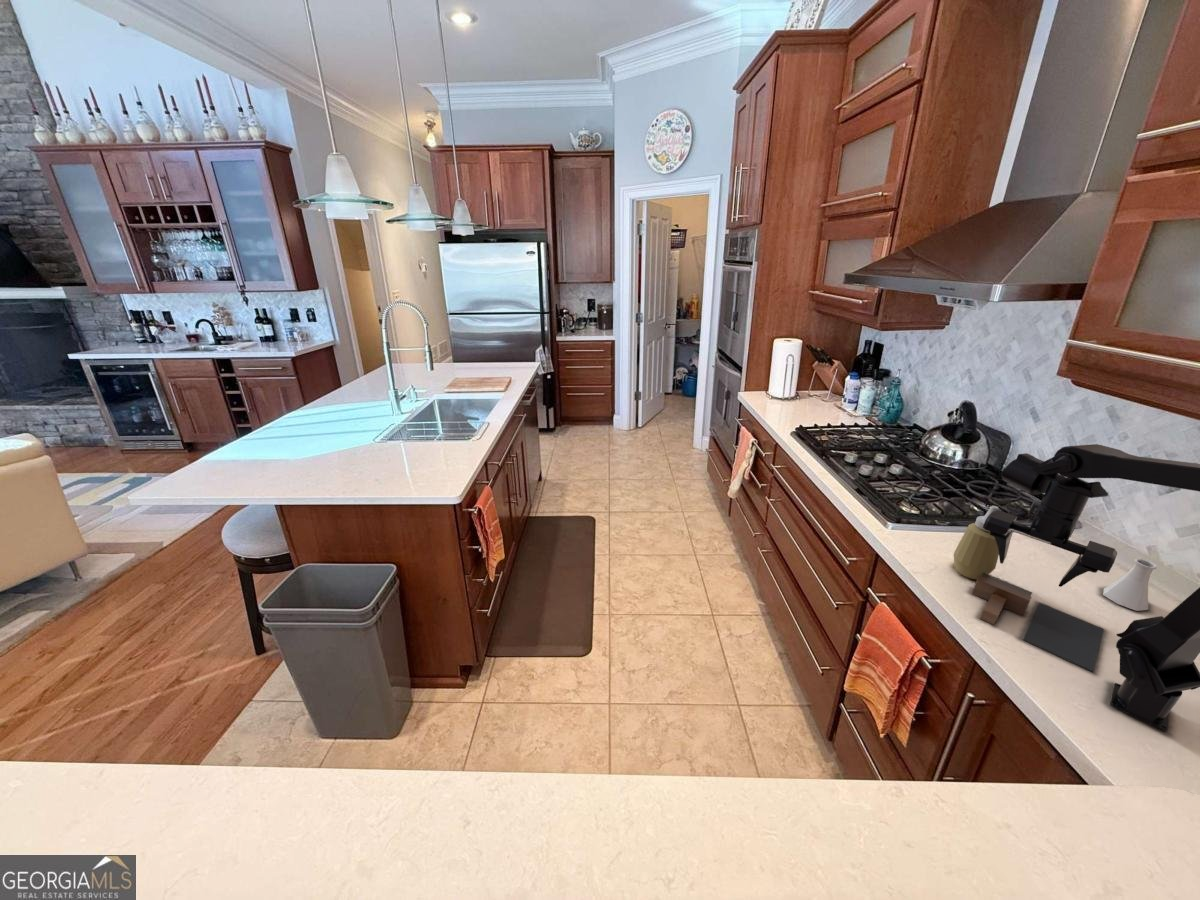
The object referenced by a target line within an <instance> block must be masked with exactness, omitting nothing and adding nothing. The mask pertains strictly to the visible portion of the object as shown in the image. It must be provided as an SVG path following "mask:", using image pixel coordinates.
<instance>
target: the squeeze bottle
mask: <svg viewBox="0 0 1200 900" xmlns="http://www.w3.org/2000/svg"><path fill="white" fill-rule="evenodd" d="M995 510H999V507H998V506H997V505H991V506H990V508H989V509H988V510H987V512H986V513H985V514H984V515H979V516H977V517H976V519H975V521H974V522H972V523H970V524H968V526H967V527H966V530H965V531H964V533H963V535H962V537H961V539H960V541H959V542H958V544H957V546H956V548H955V550H954V552H953V565H954V569H955V571H956V572H957V573H958V574H960V575H962V576H964V577H965V578H968V579H972V580H975V581H977V579H978V578H979V576H982V574H983V573H986V574H988V575H990V574H991V573H992V572H993V571H994V570H996V567H997V565H998V559H999V552H998V546H997V543H996V540H995V537H994V536H992V535H990V534H989V532H990V531H988V530H985V529H984V528H983V525H984V523H985V520H986V519H987V517H988V516H989V515H990V514H991V513H992V511H995Z"/></svg>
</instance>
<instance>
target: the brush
mask: <svg viewBox="0 0 1200 900" xmlns="http://www.w3.org/2000/svg"><path fill="white" fill-rule="evenodd" d="M1032 594H1033V591H1030V590H1028V589H1025V588H1023V587H1020V586H1017V585H1015V584H1013V583H1010V582H1008V581H1005V580H1003V579H1000V578H998V577H996V576H993V575H990V574H989V575H988V574H986V573H983V574H982V576H979V578H978V579H977V580H976V582H975V584H974V587H973V588H972V591H971V595H974V596H976V597H979V598H981V599H983V600H986V601H987V603H986V604H985V606H984V607H983V609H982V611H981V614H980V616H979V619H980V620H982V621H984V622H987V623H989V624H991V625H995V623H996V622H997V620H998V618H999V616H1000V614H1001V613H1002V611H1003V609H1007V610H1009V611H1010V612H1014V613H1015V614H1017V615H1020V616H1024V615H1025V612H1026V610H1027V608H1028V606H1029V604H1030V603H1031V599H1032Z"/></svg>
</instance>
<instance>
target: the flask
mask: <svg viewBox="0 0 1200 900" xmlns="http://www.w3.org/2000/svg"><path fill="white" fill-rule="evenodd" d="M1157 566H1158V565H1157V564H1156V563H1154V562H1152V561H1150V560H1147V559H1143V558H1135V559H1134V565H1133V566H1132V568H1131V569H1130V570H1129V571H1128V572H1127V573H1126V574H1124V575H1122V576H1121V577H1120V578H1118V579H1117V580H1116V581H1114V582H1112V583H1111V584H1109V585H1108V586H1106V587H1104V588H1103V594H1102V595H1103V596H1104V597H1106V598H1107V599H1109V600H1110V601H1111V602H1114V603H1115V604H1117V605H1119V606H1122V607H1124V608H1127V609H1130V610H1132V611H1137V612H1138V611H1139V612H1140V611H1148V610H1149V581H1150V578H1151V574H1152V572H1153V571H1154V570H1156V569H1157Z"/></svg>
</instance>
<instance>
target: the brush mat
mask: <svg viewBox="0 0 1200 900" xmlns="http://www.w3.org/2000/svg"><path fill="white" fill-rule="evenodd" d="M1103 634H1104V627H1103V628H1102V627H1100V626H1098V625H1095V624H1093V623H1090V622H1088V621H1085V620H1083V619H1081V618H1079V617H1076V616H1073V615H1071V614H1069V613H1066V612H1063V611H1061V610H1059V609H1056V608H1054V607H1052V606H1049V605H1046V604H1044V603H1042V602H1039V603H1038V605H1037V608H1036V610H1035V612H1034V614H1033V616H1032V619H1031V621H1030V623H1029V625H1028V627H1027V629H1026V632H1025V634H1024V637H1023V638H1022V641H1024V642H1026V643H1029V644H1030V645H1033V646H1035V647H1037V648H1039V649H1041V650H1044V651H1046V652H1047V653H1050V654H1052V655H1053V656H1056V657H1059V658H1060V659H1063V660H1065V661H1067V662H1069V663H1071V664H1074V665H1075V666H1078V667H1080V668H1082V669H1085V670H1087V671H1089V672H1090V673H1094V670H1095V665H1096V662H1097V658H1098V653H1099V650H1100V649H1099V648H1100V645H1101V643H1102V638H1103Z"/></svg>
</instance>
